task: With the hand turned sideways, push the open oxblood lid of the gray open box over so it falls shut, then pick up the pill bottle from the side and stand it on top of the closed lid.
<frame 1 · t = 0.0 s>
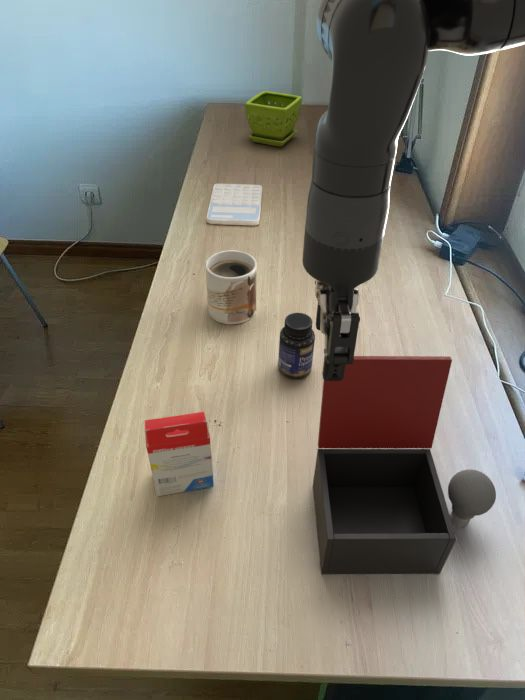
hand: (328, 352, 64), 28 cm above the table, tool pointing down, fingers open, 8 cm apart
lid: (381, 404, 73), point 16 cm above the table, hinge at 100.0°
pill bottle: (294, 368, 102), on the table
flower pot: (272, 140, 181), on the table
ink box: (183, 480, 84), on the table
gray open box: (372, 527, 78), on the table
calculator: (235, 207, 147), on the table
light bulb: (458, 521, 80), on the table
mug: (236, 307, 115), on the table
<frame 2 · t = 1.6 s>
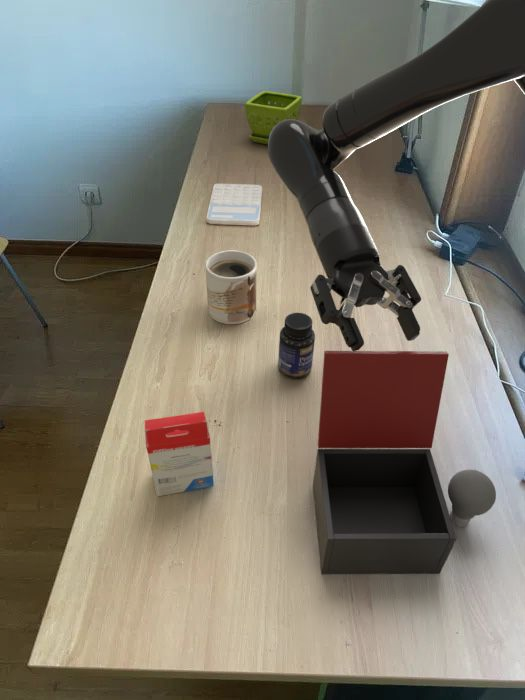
hand: (387, 342, 71), 24 cm above the table, tool tilted 65°, fingers open, 8 cm apart
lid: (380, 401, 74), point 16 cm above the table, hinge at 105.3°
everything else where it was.
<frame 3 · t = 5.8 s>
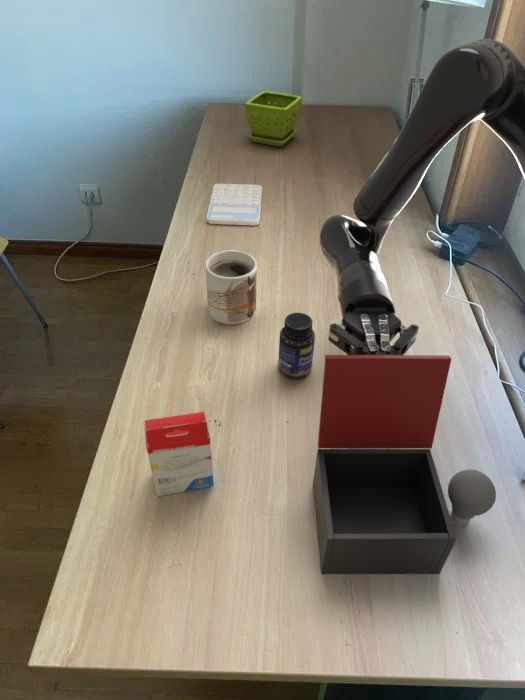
hand: (384, 377, 72), 20 cm above the table, tool horizontal, fingers closed
lid: (381, 403, 74), point 16 cm above the table, hinge at 100.9°
everything else where it was.
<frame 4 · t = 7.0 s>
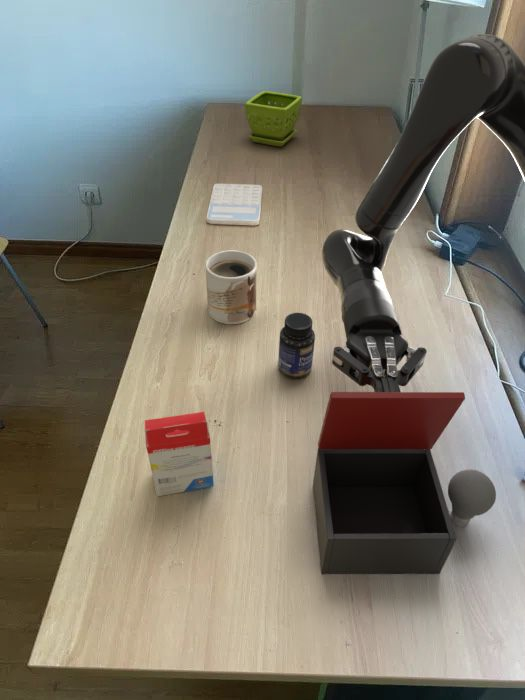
hand: (390, 405, 69), 20 cm above the table, tool horizontal, fingers closed
lid: (385, 422, 71), point 16 cm above the table, hinge at 75.5°
everything else where it was.
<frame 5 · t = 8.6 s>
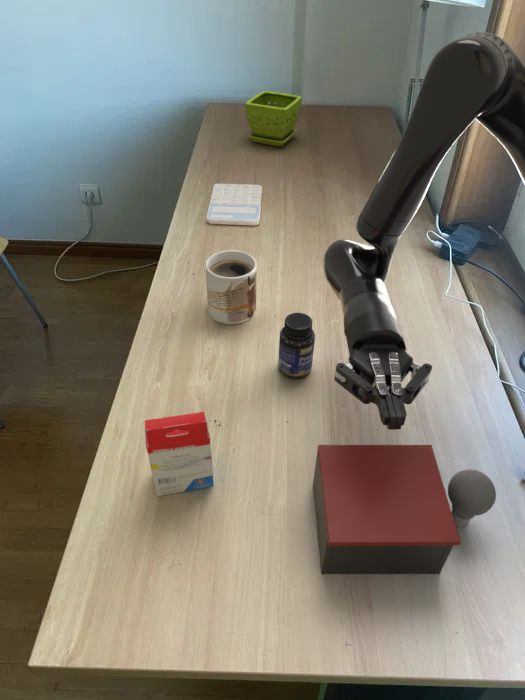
hand: (395, 424, 66), 20 cm above the table, tool horizontal, fingers closed
lid: (383, 491, 72), point 9 cm above the table, hinge at -0.2°
everything else where it was.
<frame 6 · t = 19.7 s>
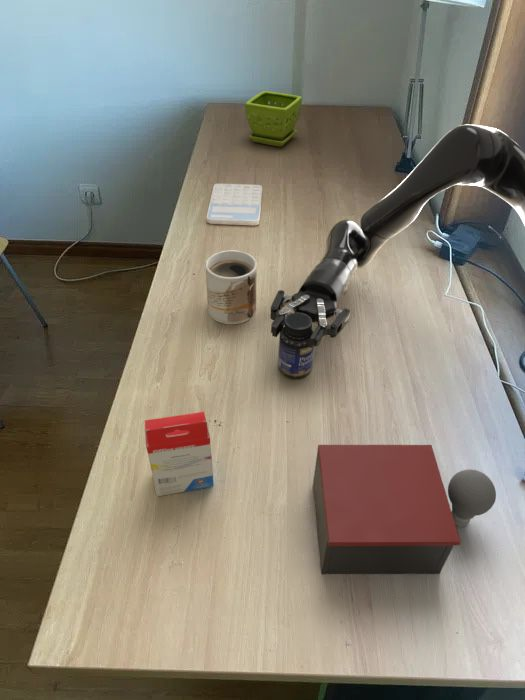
hand: (292, 338, 94), 9 cm above the table, tool horizontal, fingers closed on pill bottle, 6 cm apart
pill bottle: (294, 368, 102), on the table, touching gripper
everything else where it was.
when the fingers open (19 cm above the table, at t = 29.2 s): pill bottle stays where it is, resting on lid.
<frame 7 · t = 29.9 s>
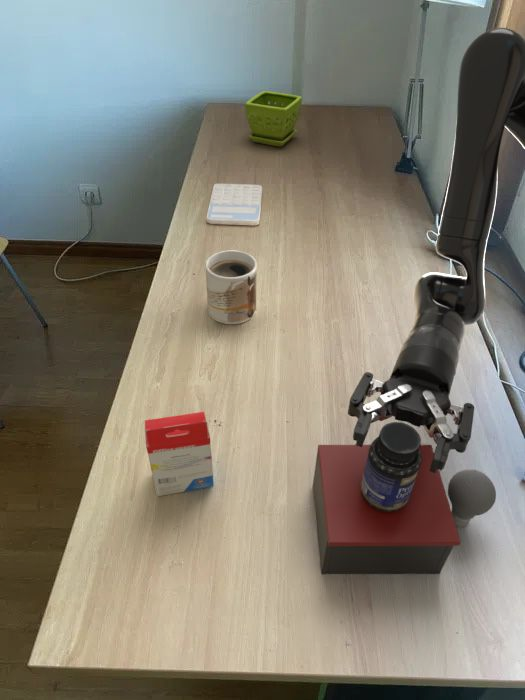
hand: (396, 454, 63), 20 cm above the table, tool horizontal, fingers open, 8 cm apart
lid: (383, 491, 72), point 9 cm above the table, hinge at -0.2°, touching gray open box, pill bottle
pill bottle: (383, 493, 71), point 9 cm above the table, touching lid
everything else where it was.
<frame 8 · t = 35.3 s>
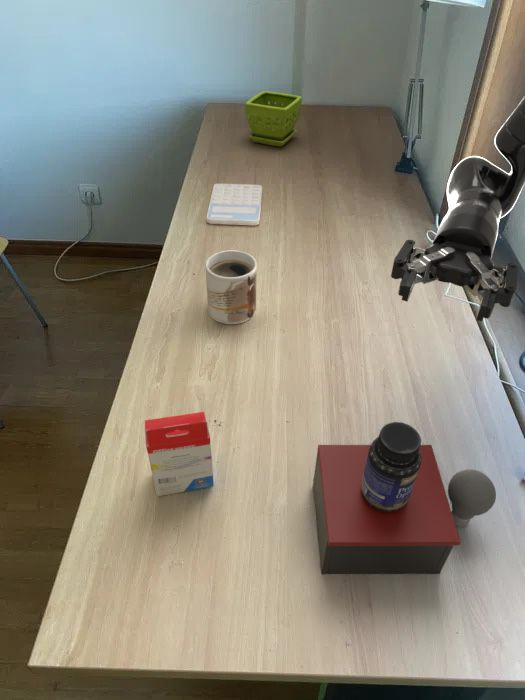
hand: (442, 304, 64), 32 cm above the table, tool horizontal, fingers open, 8 cm apart
nothing on the table moved.
at the end: lid at +0° (first picture: +100°); pill bottle inside the target area on the gray open box (0.9 cm from its centre), point 9.5 cm above the gray open box's base; pill bottle tilted 0° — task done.
